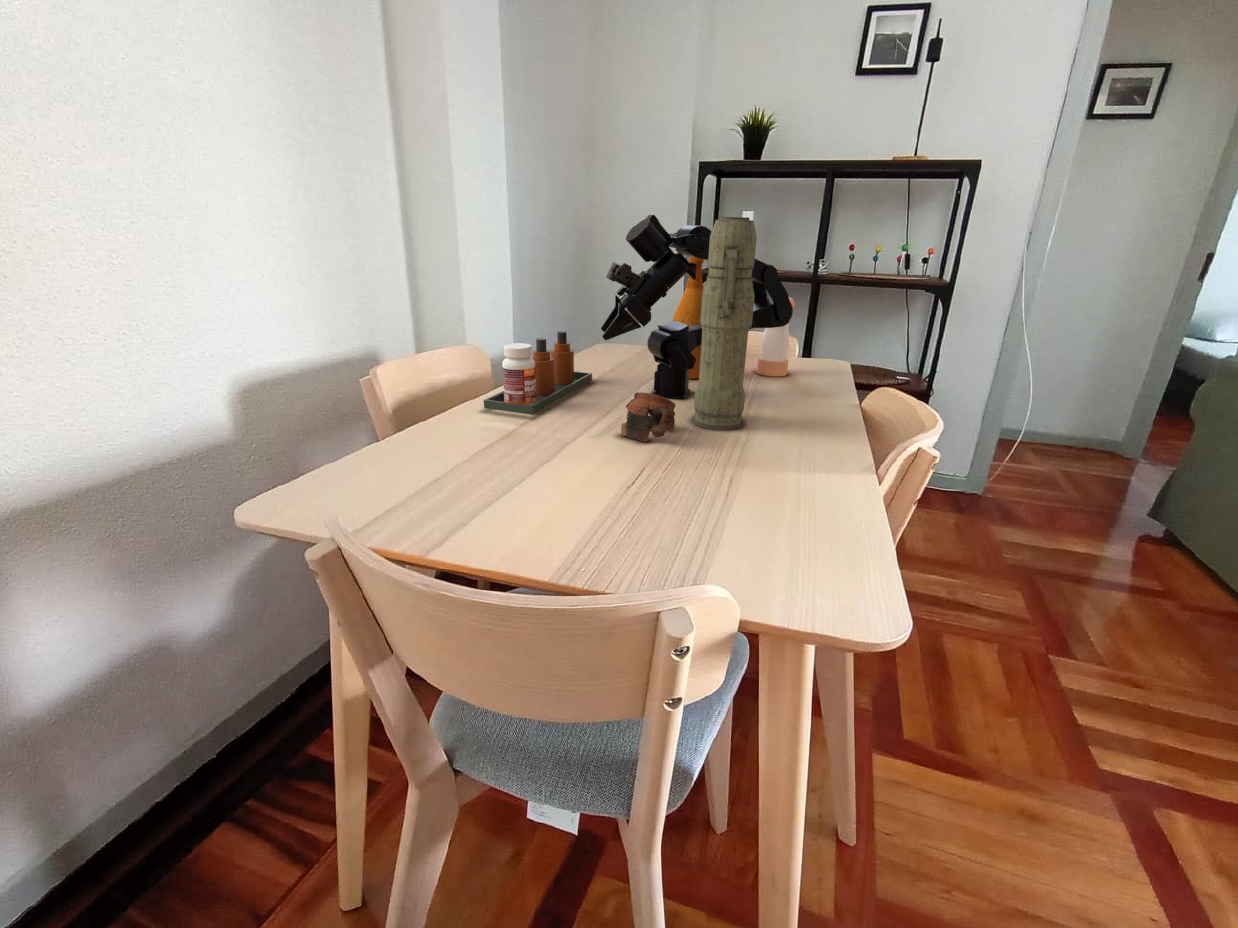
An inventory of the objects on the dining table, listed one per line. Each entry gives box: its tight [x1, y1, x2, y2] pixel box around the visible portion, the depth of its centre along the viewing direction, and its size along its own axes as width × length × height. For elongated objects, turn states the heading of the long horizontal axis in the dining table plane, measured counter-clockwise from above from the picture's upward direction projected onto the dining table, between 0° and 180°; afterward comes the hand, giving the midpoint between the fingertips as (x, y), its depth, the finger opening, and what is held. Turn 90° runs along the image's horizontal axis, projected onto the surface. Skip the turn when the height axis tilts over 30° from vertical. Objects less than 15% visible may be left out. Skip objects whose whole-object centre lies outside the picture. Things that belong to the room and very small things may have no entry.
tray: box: [483, 370, 593, 416], centre depth 125 cm, size 10×28×2 cm, turn 159°
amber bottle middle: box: [531, 337, 555, 396], centre depth 123 cm, size 5×5×11 cm
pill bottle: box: [501, 342, 537, 405], centre depth 115 cm, size 6×6×11 cm
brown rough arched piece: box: [620, 391, 676, 443], centre depth 104 cm, size 12×10×8 cm
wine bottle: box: [671, 257, 705, 380], centre depth 140 cm, size 10×10×30 cm
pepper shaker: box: [756, 296, 796, 377], centre depth 146 cm, size 7×7×19 cm
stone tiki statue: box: [693, 216, 758, 431], centre depth 106 cm, size 9×12×35 cm
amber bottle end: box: [550, 330, 575, 385], centre depth 132 cm, size 5×5×11 cm
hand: (603, 334), depth 123 cm, fingers open, 9 cm apart
